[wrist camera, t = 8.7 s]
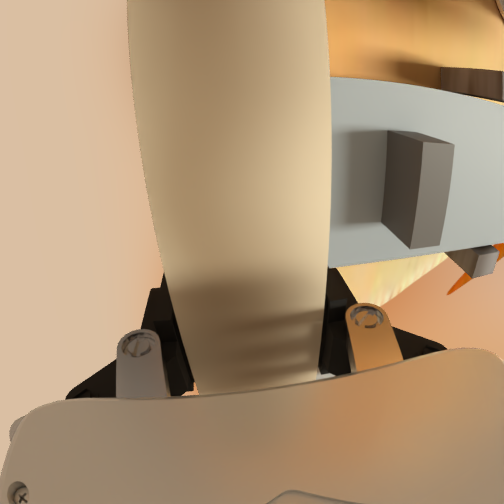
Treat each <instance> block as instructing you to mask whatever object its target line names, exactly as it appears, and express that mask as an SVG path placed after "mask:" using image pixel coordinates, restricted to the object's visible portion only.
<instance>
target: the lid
mask: <svg viewBox="0 0 504 504" xmlns="http://www.w3.org/2000/svg"><path fill="white" fill-rule="evenodd" d="M330 87H331V126H332V170H331V210H330V233H329V251H328V266H329V268H334V267H342V266H350V265H357V264H365V263H372V262H379V261H387V260H394V259H401V258H408V257H415V256H422V255H428V254H435V253H442V252H448V251H455V250H461V249H467V248H474V247H480V246H486V245H492V244H498V243H504V106H503V105H499V104H496V103H492V102H489V101H485V100H482V99H478V98H474V97H470V96H466V95H462V94H457V93H453V92H448V91H443V90H438V89H433V88H427V87H422V86H416V85H409V84H402V83H395V82H387V81H378V80H368V79H357V78H342V77H330Z"/></svg>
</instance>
